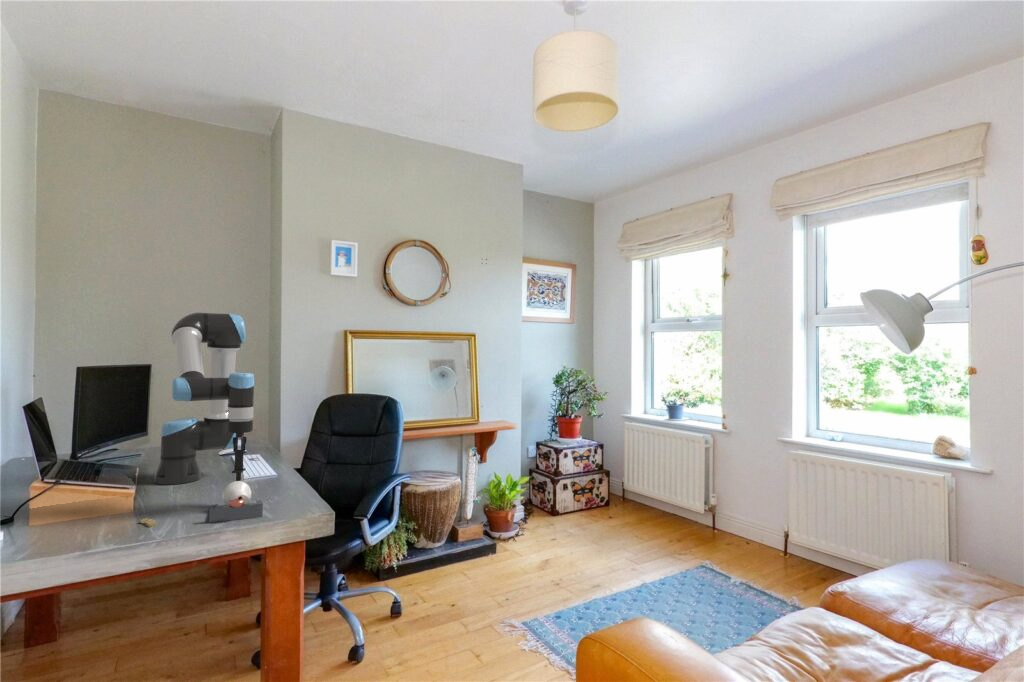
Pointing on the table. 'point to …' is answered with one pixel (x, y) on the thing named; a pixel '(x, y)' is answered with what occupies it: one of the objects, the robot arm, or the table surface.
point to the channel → (236, 510)
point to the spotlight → (237, 492)
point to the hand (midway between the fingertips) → (238, 492)
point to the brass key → (148, 522)
